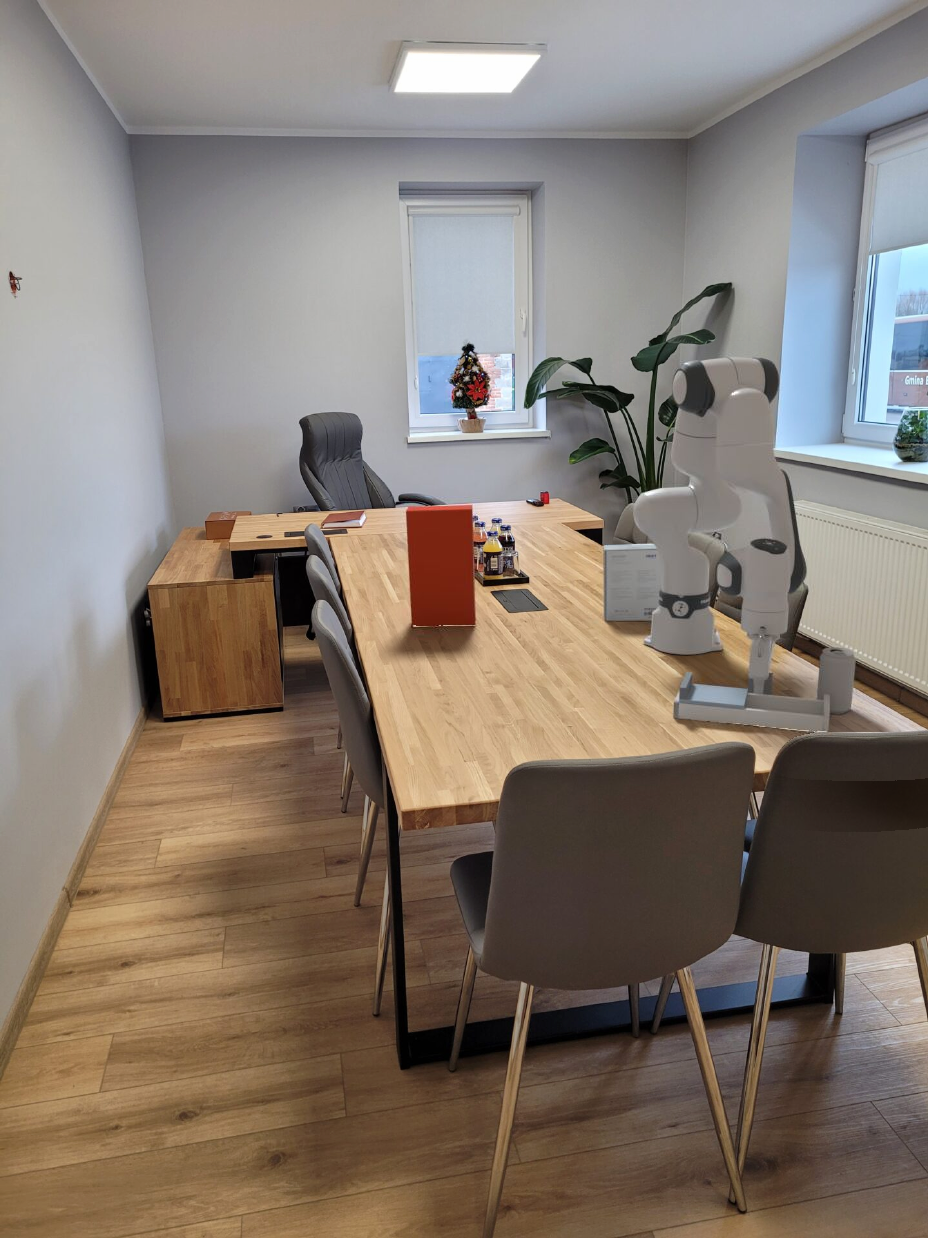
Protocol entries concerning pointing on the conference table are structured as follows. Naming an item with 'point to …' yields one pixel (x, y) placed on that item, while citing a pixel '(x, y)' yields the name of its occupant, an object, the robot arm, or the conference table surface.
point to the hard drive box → (631, 581)
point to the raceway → (764, 712)
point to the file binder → (441, 565)
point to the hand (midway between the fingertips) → (760, 686)
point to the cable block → (766, 685)
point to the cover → (711, 694)
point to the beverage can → (836, 678)
